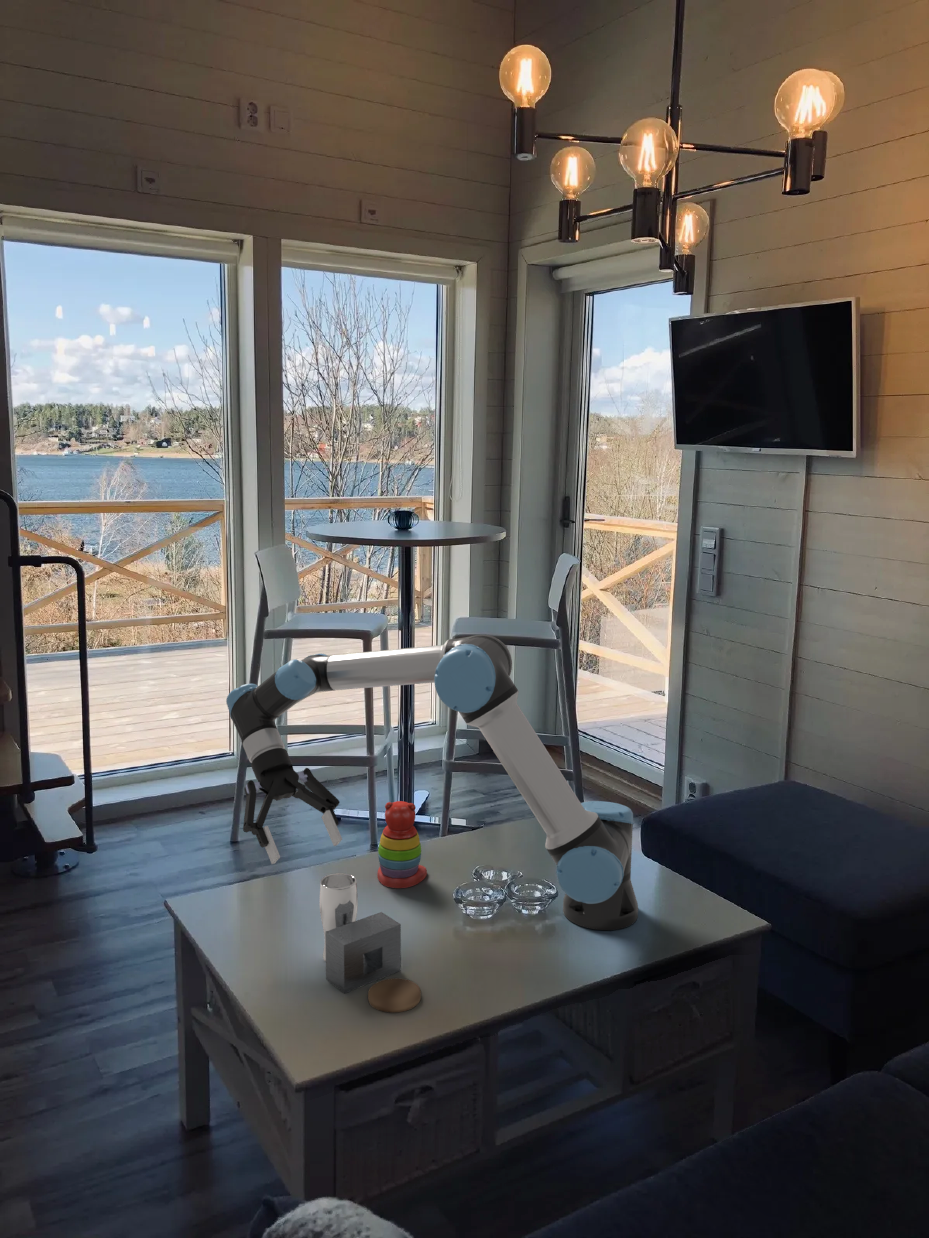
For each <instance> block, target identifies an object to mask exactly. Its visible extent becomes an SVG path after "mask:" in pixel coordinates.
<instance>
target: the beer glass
mask: <svg viewBox="0 0 929 1238" xmlns="http://www.w3.org/2000/svg"><path fill="white" fill-rule="evenodd" d="M319 882H320V885H319V887H320V888H319V913H320V920H321V924H322V929H323V935H324V937H325V932H326V931H329V930H332V929H335V928H337V927H340V926H343V925H346V924H349V923H351V922H354V921H357V917H358V916H357V915H358V906H359V905H358V903H359V898H358V897H359V896H358V885H357V878H356V877H355V876H354V875H352V874H349V873H346V872H345V873H342V872H340V873H331V874H328V875H326V876H325V875H324V876H323V877H322V878H321V879H320V881H319ZM322 959H323V961H324V963H326V941H325V940H324V946H323V952H322Z"/></svg>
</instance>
